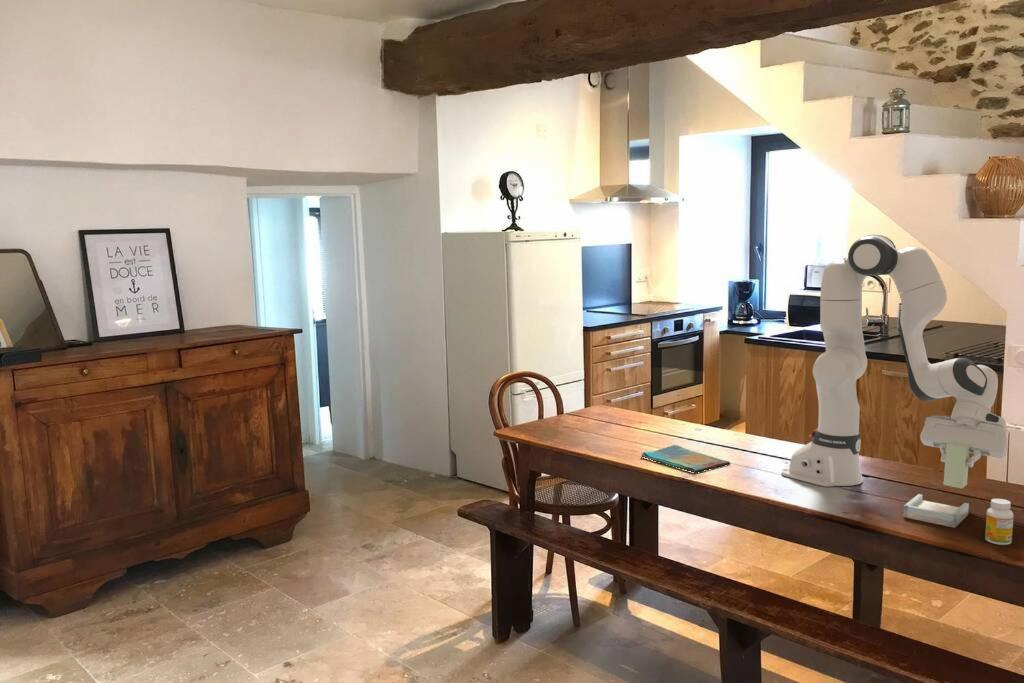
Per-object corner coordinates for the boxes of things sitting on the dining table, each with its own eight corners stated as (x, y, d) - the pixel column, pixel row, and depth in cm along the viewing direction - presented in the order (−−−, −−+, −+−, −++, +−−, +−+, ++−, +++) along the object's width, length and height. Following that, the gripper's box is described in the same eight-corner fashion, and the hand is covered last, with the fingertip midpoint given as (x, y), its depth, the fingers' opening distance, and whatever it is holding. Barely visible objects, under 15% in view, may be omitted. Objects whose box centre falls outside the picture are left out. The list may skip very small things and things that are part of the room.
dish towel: (676, 450, 279) (676, 443, 278) (731, 466, 260) (731, 458, 259) (639, 459, 269) (639, 452, 268) (694, 476, 250) (694, 468, 249)
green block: (943, 484, 217) (946, 444, 215) (948, 480, 220) (951, 440, 219) (962, 488, 214) (965, 447, 212) (966, 484, 217) (970, 443, 216)
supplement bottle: (982, 536, 197) (984, 496, 196) (1008, 538, 195) (1010, 498, 194) (988, 544, 192) (990, 503, 191) (1014, 546, 190) (1017, 505, 189)
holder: (903, 517, 211) (903, 505, 210) (917, 504, 219) (918, 493, 219) (954, 527, 202) (955, 515, 202) (968, 514, 211) (968, 503, 211)
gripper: (925, 407, 226) (911, 449, 221) (1011, 419, 213) (998, 464, 207) (929, 420, 230) (915, 461, 225) (1013, 433, 217) (1001, 477, 211)
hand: (956, 463), depth 216 cm, fingers closed on green block, 4 cm apart
